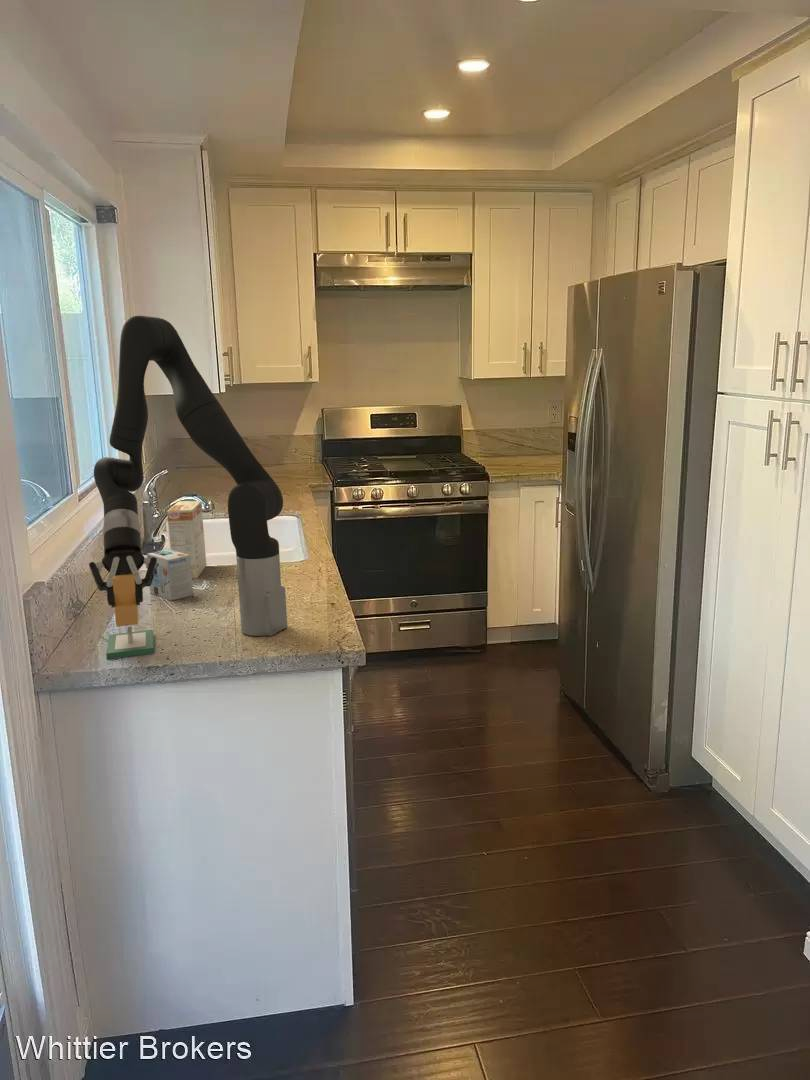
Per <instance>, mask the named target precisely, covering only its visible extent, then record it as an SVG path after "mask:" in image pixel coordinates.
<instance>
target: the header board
mask: <svg viewBox="0 0 810 1080" xmlns="http://www.w3.org/2000/svg"><path fill="white" fill-rule="evenodd" d="M132 626H133V625H128V626H127V631H126V632H119V633H111V634H109V635H108V640H107V647H106V659H107V660H112V659H118V658H119V659H120V658H126V657H127V658H128V657H129V658H130V657H137V656H142V655H152V654H155V651H154V649H155V648H154V645H155V643H154V635H155V634H154V629H145V630H137V631H133V627H132ZM111 658H112V659H111Z"/></svg>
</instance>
